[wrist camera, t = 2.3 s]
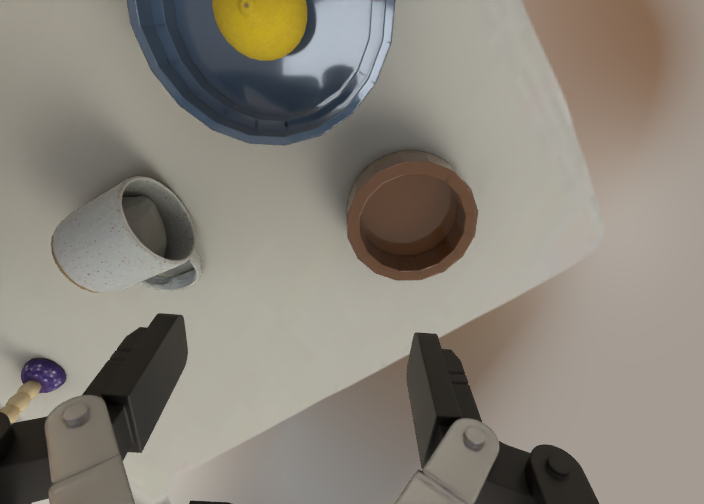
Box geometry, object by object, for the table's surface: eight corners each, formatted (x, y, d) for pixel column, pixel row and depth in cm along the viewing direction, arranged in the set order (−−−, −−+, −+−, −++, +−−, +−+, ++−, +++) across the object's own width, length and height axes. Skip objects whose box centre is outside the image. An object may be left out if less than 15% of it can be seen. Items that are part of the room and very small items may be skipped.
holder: (331, 239, 37) (329, 258, 34) (375, 131, 32) (377, 140, 29) (432, 274, 38) (440, 295, 35) (488, 176, 34) (502, 190, 31)
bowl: (141, 85, 31) (109, 91, 27) (178, -193, 24) (144, -240, 20) (340, 161, 33) (339, 177, 29) (427, -67, 26) (441, -86, 22)
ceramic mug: (79, 206, 35) (15, 248, 28) (151, 162, 33) (102, 195, 26) (161, 294, 40) (123, 348, 33) (229, 259, 38) (203, 309, 31)
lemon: (287, -51, 26) (264, -85, 19) (326, 35, 29) (318, 33, 22) (217, -8, 27) (170, -24, 20) (260, 72, 30) (232, 82, 23)
